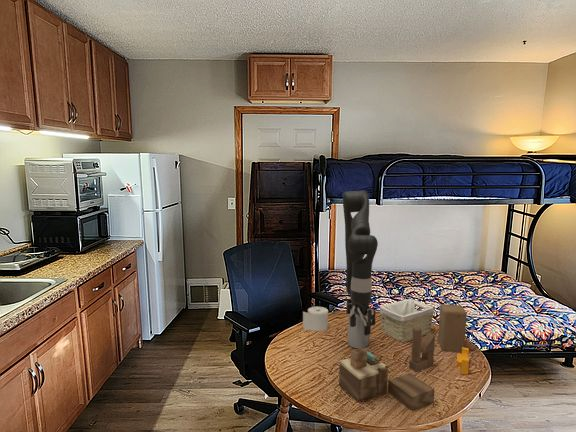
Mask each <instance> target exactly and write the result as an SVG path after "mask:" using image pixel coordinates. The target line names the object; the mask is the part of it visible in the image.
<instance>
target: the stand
mask: <svg viewBox="0 0 576 432" xmlns="http://www.w3.org/2000/svg"><path fill="white" fill-rule="evenodd" d="M387 394H389V395H390V396H392V397H393V398H395V399H396V400H397V401H398V402H400V403H401V405H403V406H405V407H406V408H407V409H409V410H410V411H414V410H416V409H419V408H422V407H424V406H427V405H430V404H431V403H434V401H435V388H434V387H433V386H431V385H429V384H428V383H426V382H425V381H423V380H422V379H420V378H418V377H417V376H416V375H413V374H412V373H410V372H409V373H405V374H403V375H400V376H397V377H394V378H390V379H387Z"/></svg>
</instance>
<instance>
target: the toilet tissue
mask: <svg viewBox="0 0 576 432" xmlns="http://www.w3.org/2000/svg"><path fill="white" fill-rule="evenodd" d="M328 321H329V310H328V309H327V307H323V306H311V307H309V308H307V312H305V311H302V329H303V330H304V329H305V330H306V331H312V332H324V331H327V329H328V328H329V325H328V323H329V322H328Z"/></svg>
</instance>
